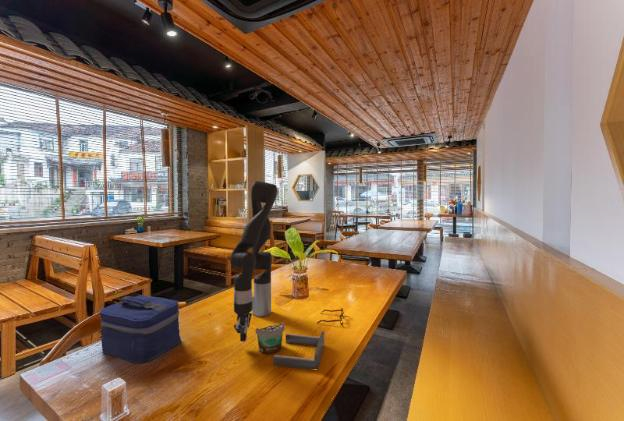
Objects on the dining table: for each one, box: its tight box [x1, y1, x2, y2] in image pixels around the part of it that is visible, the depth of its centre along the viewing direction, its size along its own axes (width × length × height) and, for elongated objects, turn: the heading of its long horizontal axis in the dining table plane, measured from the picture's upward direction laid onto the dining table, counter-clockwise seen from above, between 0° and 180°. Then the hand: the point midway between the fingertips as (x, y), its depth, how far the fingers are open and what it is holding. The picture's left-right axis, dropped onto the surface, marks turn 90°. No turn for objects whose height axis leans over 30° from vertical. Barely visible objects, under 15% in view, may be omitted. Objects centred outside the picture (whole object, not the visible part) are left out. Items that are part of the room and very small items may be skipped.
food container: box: [254, 322, 286, 356], centre depth 113 cm, size 12×6×10 cm, turn 117°
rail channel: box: [273, 331, 325, 370], centre depth 111 cm, size 17×17×6 cm
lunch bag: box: [98, 294, 182, 364], centre depth 116 cm, size 31×21×20 cm
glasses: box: [316, 307, 345, 326], centre depth 143 cm, size 13×13×5 cm
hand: (243, 340), depth 115 cm, fingers closed
